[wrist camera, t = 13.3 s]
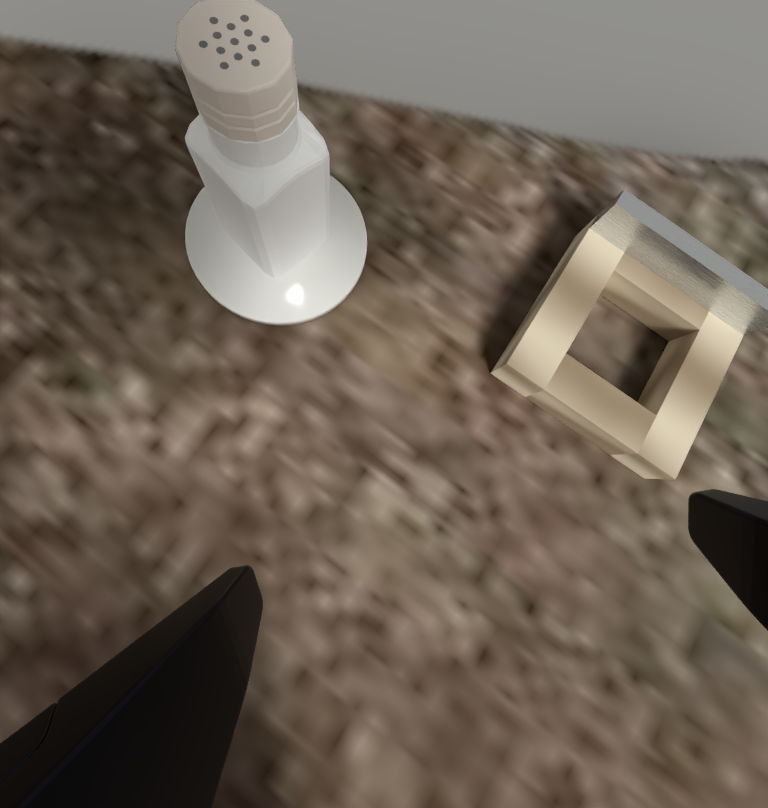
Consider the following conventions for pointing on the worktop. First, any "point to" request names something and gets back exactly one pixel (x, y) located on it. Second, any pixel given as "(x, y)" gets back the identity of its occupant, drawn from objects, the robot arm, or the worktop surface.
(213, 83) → the pepper shaker
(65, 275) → the worktop surface
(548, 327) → the square wooden frame
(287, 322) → the coaster
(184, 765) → the robot arm
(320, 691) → the worktop surface
